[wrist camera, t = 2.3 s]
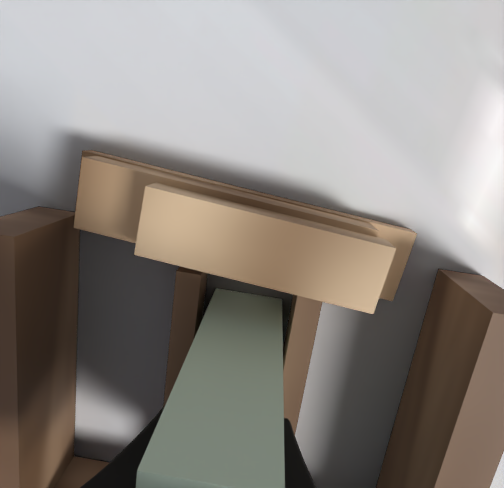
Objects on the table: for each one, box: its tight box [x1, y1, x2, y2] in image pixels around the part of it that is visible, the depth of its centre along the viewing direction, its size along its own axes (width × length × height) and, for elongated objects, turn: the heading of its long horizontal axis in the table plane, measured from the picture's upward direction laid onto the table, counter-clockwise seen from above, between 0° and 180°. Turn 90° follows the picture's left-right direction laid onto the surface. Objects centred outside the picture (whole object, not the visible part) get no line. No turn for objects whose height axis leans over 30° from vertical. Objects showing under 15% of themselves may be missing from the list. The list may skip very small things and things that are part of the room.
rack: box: [0, 206, 504, 488], centre depth 13 cm, size 16×12×4 cm
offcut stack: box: [74, 150, 417, 314], centre depth 12 cm, size 11×2×3 cm, turn 77°
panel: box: [136, 288, 285, 488], centre depth 11 cm, size 2×7×8 cm, turn 172°
